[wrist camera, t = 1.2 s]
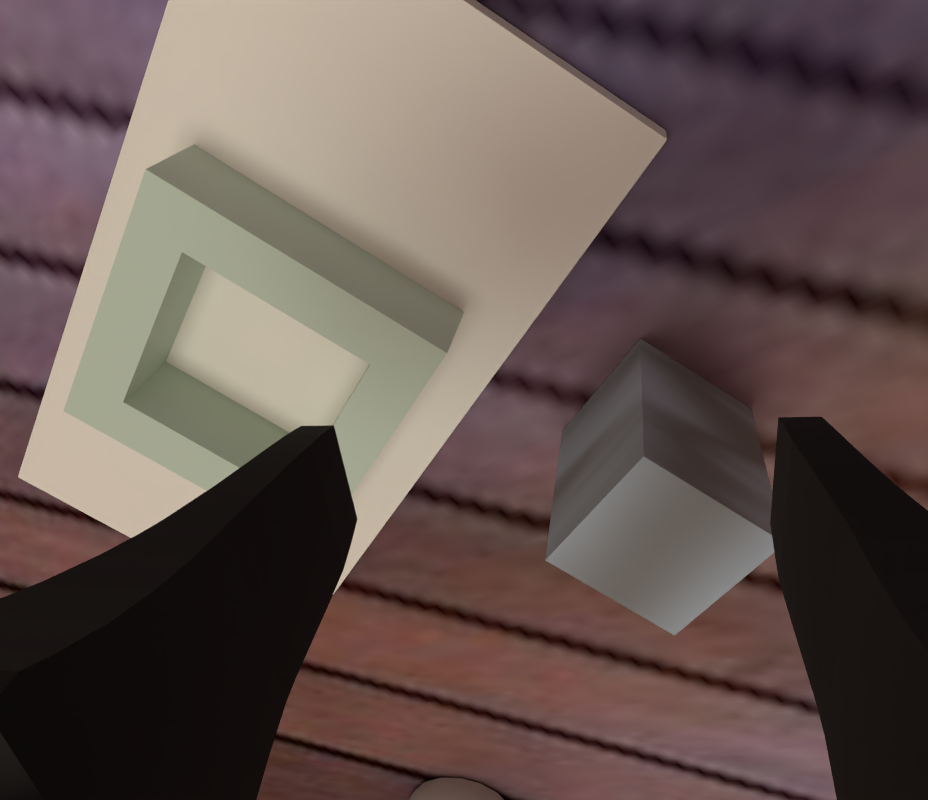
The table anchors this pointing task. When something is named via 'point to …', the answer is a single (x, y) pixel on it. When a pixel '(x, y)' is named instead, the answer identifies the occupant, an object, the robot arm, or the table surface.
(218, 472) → the board with square socket
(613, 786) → the table surface
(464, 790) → the bottle
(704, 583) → the post
